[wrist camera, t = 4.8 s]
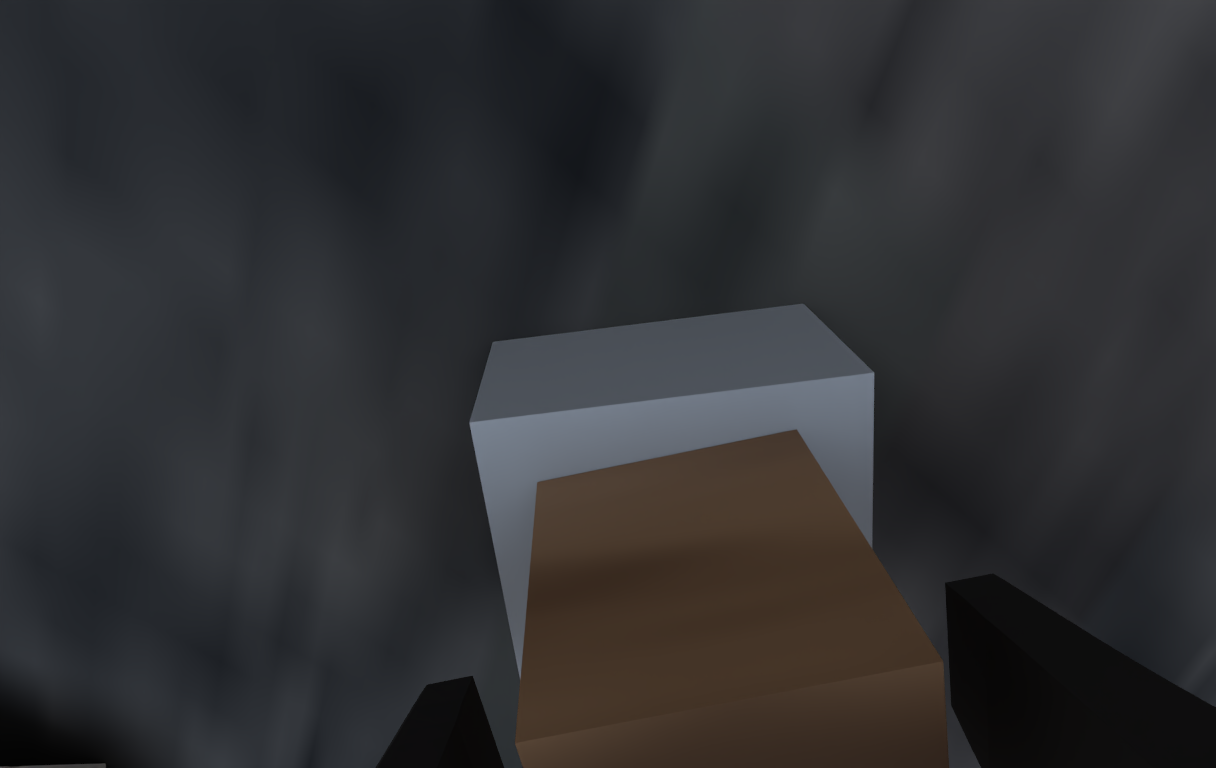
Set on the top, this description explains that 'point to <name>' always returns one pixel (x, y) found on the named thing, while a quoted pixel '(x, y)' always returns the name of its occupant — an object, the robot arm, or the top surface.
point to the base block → (662, 411)
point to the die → (63, 766)
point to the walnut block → (719, 623)
